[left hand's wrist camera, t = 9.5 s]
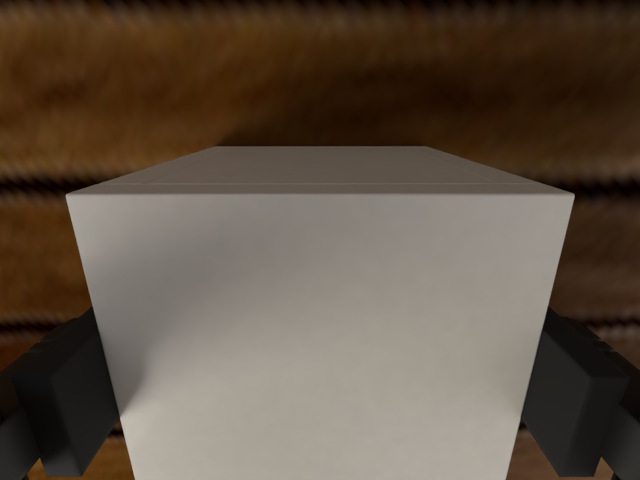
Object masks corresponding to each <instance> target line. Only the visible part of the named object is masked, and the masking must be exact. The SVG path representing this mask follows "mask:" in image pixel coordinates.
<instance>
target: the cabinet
mask: <svg viewBox="0 0 640 480" xmlns="http://www.w3.org/2000/svg"><path fill="white" fill-rule="evenodd" d="M574 197H575V195H574V194H573V193H570V192H567V191H564V190H561V189H558V188H555V187H552V186H549V185H545V184H542V183H539V182H536V181H533V180H530V179H526V178H523V177H520V176H517V175H514V174H511V173H508V172H505V171H502V170H499V169H495V168H492V167H489V166H486V165H483V164H480V163H477V162H474V161H471V160H467V159H464V158H461V157H458V156H455V155H452V154H449V153H446V152H443V151H439V150H436V149H433V148H430V147H427V146H214V147H211V148H209V149H205V150H202V151H199V152H196V153H193V154H190V155H186V156H183V157H180V158H177V159H174V160H171V161H168V162H165V163H162V164H159V165H155V166H152V167H149V168H146V169H143V170H140V171H137V172H134V173H131V174H128V175H125V176H121V177H118V178H115V179H112V180H109V181H106V182H103V183H100V184H96V185H93V186H90V187H87V188H84V189H81V190H77V191H74V192H71V193H68V194H66V199H67V203H68V207H69V212H70V216H71V220H72V224H73V228H74V232H75V236H76V240H77V244H78V248H79V252H80V256H81V260H82V265H83V269H84V273H85V277H86V281H87V285H88V289H89V293H90V297H91V301H92V305H93V309H94V313H95V318H96V322H97V326H98V330H99V334H100V338H101V342H102V346H103V350H104V354H105V358H106V362H107V366H108V371H109V375H110V379H111V383H112V387H113V391H114V395H115V399H116V403H117V407H118V411H119V415H120V419H121V424H122V428H123V432H124V436H125V440H126V444H127V448H128V452H129V456H130V460H131V464H132V468H133V472H134V477H135V480H506V476H507V472H508V468H509V464H510V460H511V456H512V452H513V447H514V443H515V439H516V435H517V431H518V427H519V423H520V419H521V415H522V411H523V406H524V402H525V398H526V394H527V390H528V386H529V382H530V378H531V374H532V370H533V365H534V361H535V357H536V353H537V349H538V345H539V341H540V337H541V333H542V329H543V324H544V320H545V316H546V312H547V308H548V304H549V300H550V296H551V292H552V288H553V283H554V279H555V275H556V271H557V267H558V263H559V259H560V255H561V251H562V247H563V242H564V238H565V234H566V230H567V226H568V222H569V218H570V214H571V210H572V206H573V201H574Z"/></svg>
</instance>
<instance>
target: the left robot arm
mask: <svg viewBox="0 0 640 480" xmlns="http://www.w3.org/2000/svg"><path fill="white" fill-rule="evenodd" d="M119 418H120V415H119V411H118V407H117V403H116V399H115V395H114V391H113V387H112V383H111V379H110V375H109V371H108V366H107V362H106V358H105V354H104V350H103V346H102V342H101V338H100V334H99V330H98V326H97V322H96V318H95V313H94V309H93V306H92V307H91V308H90V309H89V310H87V311H86V312H85V313H84V314H83V315H82V316H80V317H79V318H73V319H71V320H69V321H67V322H66V323H64V324H62V325H60V326H58V327H56V328H54V329H53V330H52V331H51V332H49V333H48V334H47V335H46V336H44V337H43V338H42V339H41V340H40V342H39V343H36V344H35V345H34V346H32V347H31V348H30V349H29V350H27V353H24V354H23V355H21V356H20V357H19V358H18V359H17V360H15V361H14V362H13V363H12V364H10V365H9V366H8V367H7V368H6V369H4V370H3V371H2V372H1V373H0V480H29V478H28V476H27V473H28V471H29V470H30V469H31V468H32V466H33V465H34V464H35V463H36V461H37V460H38V459H39V458H40V459H41V462H42V464H43V467H44V470H45V472H46V475H47V477H81V476H82V475H83V473H84V472H85V470H86V468H87V467H88V465H89V464H90V462H91V461H92V459H93V458H94V456H95V455H96V453H97V452H98V450H99V448H100V447H101V445H102V444H103V442H104V441H105V439H106V438H107V436H108V435H109V433H110V432H111V430H112V428H113V427H114V425H115V424H116V422H117V421H118V419H119ZM521 419H522V420H523V422H524V423H525V425H526V426H527V428H528V429H529V431H530V432H531V434H532V436H533V437H534V439H535V440H536V442H537V443H538V445H539V446H540V448H541V449H542V451H543V452H544V454H545V456H546V457H547V459H548V460H549V462H550V463H551V465H552V466H553V468H554V469H555V471H556V472H557V474H558V476H559V477H594V474H595V471H596V468H597V466H598V463H599V460H600V458H601V456H602V458H603V459H604V460H605V461H606V463H607V464H608V465H609V466H610V468H611V469H612V470H613V471H614V473H613V476H612V478H611V480H640V370H638V369H637V368H636V367H635V366H633V365H632V364H631V363H630V362H629V361H627V360H626V359H625V358H624V357H622V356H621V355H620V354H619V353H618V352H614V349H613V348H611V347H610V346H609V345H608V344H607V343H605V342H602V341H601V339H600V338H599V337H598V336H597V335H596V334H594V333H593V332H592V331H591V330H589V329H588V328H587V327H585V326H583V325H581V324H579V323H578V322H576V321H574V320H572V319H570V318H568V317H560V316H559V315H558V314H557V313H555V312H554V311H553V310H552V309H551V308H550V307H548V308H547V312H546V316H545V320H544V324H543V329H542V333H541V337H540V341H539V345H538V349H537V353H536V357H535V361H534V365H533V370H532V374H531V378H530V382H529V386H528V390H527V394H526V398H525V402H524V406H523V411H522V415H521Z"/></svg>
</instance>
